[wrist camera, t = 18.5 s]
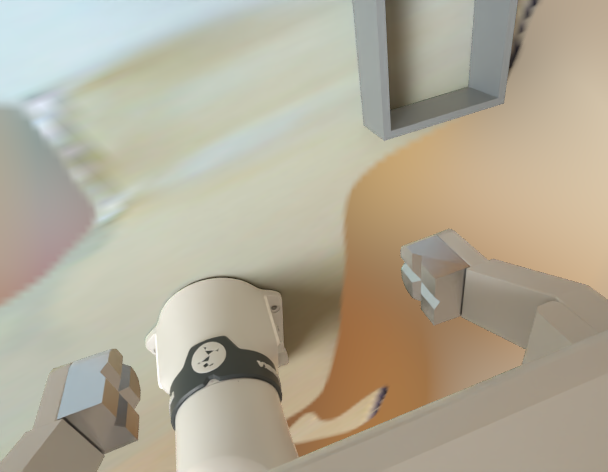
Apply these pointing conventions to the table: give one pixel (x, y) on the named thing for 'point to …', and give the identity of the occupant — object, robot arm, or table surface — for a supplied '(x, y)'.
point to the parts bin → (477, 96)
